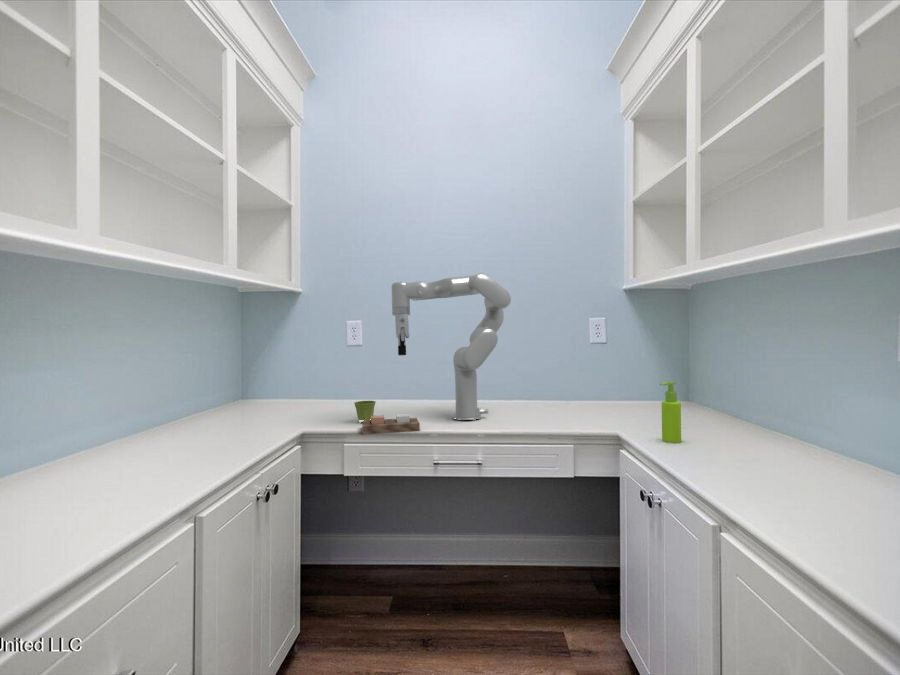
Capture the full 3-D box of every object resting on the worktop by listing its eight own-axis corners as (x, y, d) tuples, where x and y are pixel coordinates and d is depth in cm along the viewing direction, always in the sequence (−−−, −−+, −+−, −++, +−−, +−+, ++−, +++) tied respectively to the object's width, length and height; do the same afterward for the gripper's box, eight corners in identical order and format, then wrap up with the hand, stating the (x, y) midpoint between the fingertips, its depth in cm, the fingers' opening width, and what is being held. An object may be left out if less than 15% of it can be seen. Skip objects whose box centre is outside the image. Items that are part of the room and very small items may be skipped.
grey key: (408, 423, 187) (408, 413, 187) (409, 426, 182) (409, 416, 182) (396, 424, 186) (396, 414, 186) (397, 426, 181) (397, 416, 181)
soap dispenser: (655, 440, 157) (654, 381, 156) (671, 438, 159) (670, 380, 159) (669, 444, 151) (668, 383, 151) (685, 441, 154) (684, 382, 153)
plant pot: (369, 424, 193) (369, 404, 193) (350, 423, 196) (349, 403, 196) (380, 420, 202) (379, 400, 202) (361, 419, 205) (360, 400, 205)
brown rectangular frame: (416, 424, 191) (416, 417, 191) (419, 430, 179) (419, 423, 179) (362, 427, 187) (362, 420, 187) (362, 434, 175) (362, 426, 175)
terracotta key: (384, 424, 185) (383, 415, 185) (384, 427, 180) (384, 417, 180) (371, 425, 184) (371, 415, 184) (371, 428, 179) (371, 418, 179)
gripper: (411, 310, 187) (412, 355, 187) (408, 312, 201) (409, 354, 202) (393, 311, 185) (394, 356, 185) (391, 312, 200) (392, 354, 200)
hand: (402, 355), depth 193 cm, fingers closed
